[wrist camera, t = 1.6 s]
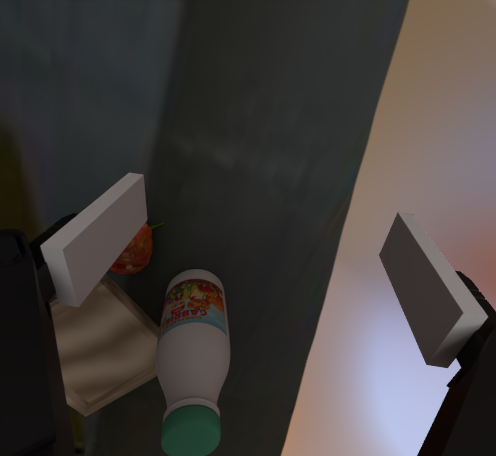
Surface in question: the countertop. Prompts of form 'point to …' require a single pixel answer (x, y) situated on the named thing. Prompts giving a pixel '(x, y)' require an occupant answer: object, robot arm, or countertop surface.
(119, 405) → the countertop surface
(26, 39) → the countertop surface
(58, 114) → the countertop surface
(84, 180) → the countertop surface
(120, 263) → the pomegranate
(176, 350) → the milk bottle
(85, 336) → the wood tray
